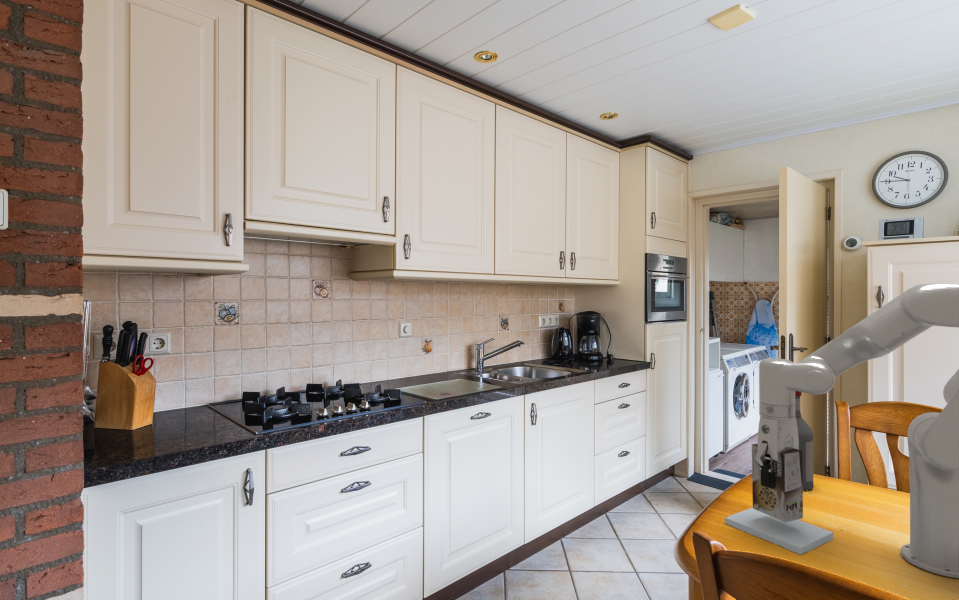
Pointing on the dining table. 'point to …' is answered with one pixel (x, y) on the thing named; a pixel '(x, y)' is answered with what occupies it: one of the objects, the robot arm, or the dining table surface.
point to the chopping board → (780, 530)
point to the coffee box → (780, 487)
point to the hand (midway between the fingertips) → (777, 483)
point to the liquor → (804, 445)
